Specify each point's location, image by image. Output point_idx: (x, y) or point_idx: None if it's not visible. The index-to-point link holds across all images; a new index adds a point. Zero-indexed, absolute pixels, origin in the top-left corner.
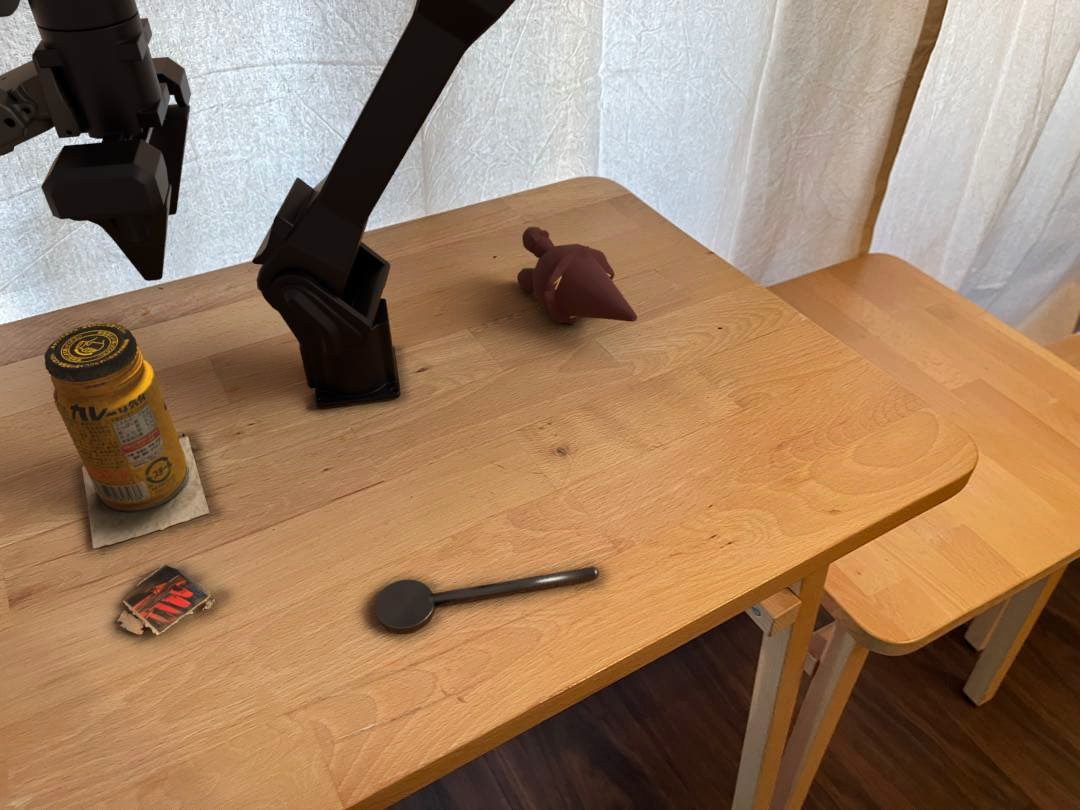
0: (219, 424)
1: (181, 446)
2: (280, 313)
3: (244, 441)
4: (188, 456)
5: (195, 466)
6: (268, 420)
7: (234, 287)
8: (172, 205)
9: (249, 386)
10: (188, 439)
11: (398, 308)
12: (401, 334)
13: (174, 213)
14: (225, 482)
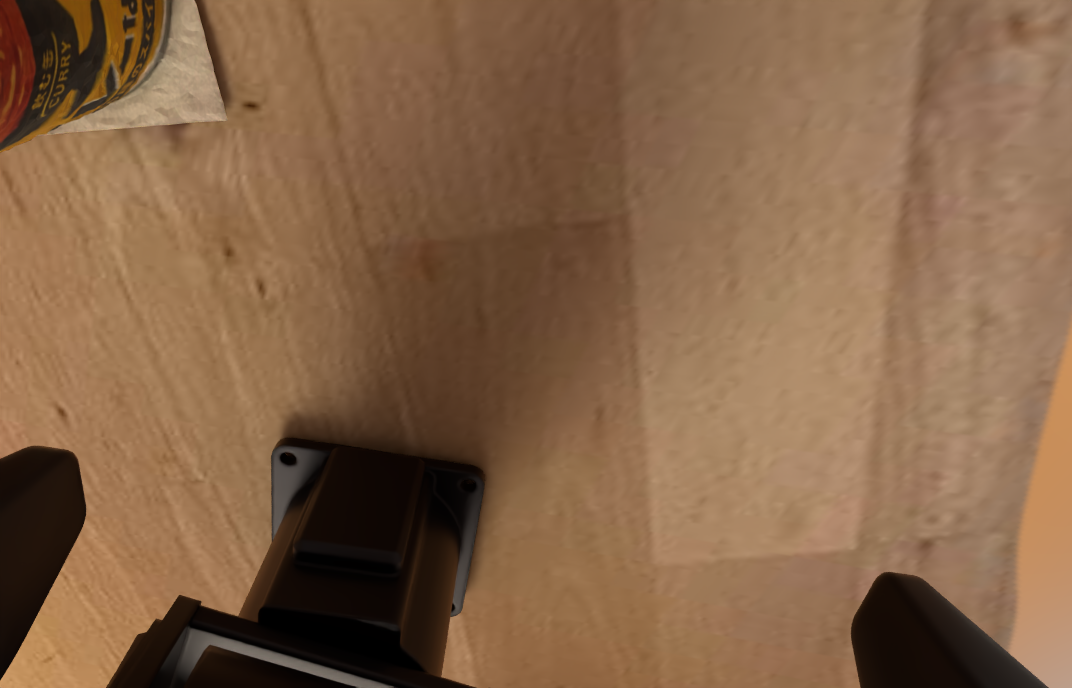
0: (278, 209)
1: (187, 96)
2: (123, 679)
3: (191, 262)
4: (138, 113)
5: (90, 128)
6: (268, 327)
7: (977, 331)
8: (872, 679)
9: (431, 304)
10: (214, 120)
11: (625, 641)
12: (519, 625)
13: (851, 628)
14: (29, 196)
